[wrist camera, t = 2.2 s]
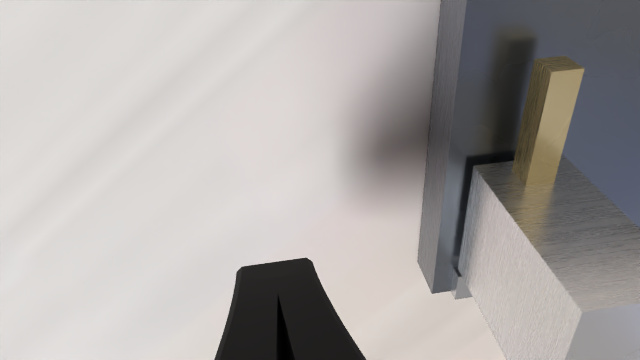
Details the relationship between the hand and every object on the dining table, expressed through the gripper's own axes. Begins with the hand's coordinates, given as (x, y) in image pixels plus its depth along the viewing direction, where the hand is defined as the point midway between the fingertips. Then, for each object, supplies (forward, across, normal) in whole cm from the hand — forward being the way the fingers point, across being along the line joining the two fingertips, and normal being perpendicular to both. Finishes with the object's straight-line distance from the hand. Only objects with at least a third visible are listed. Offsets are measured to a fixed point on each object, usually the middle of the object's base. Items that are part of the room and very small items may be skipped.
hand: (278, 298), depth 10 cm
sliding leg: (+1, -5, -1) cm, 6 cm away
